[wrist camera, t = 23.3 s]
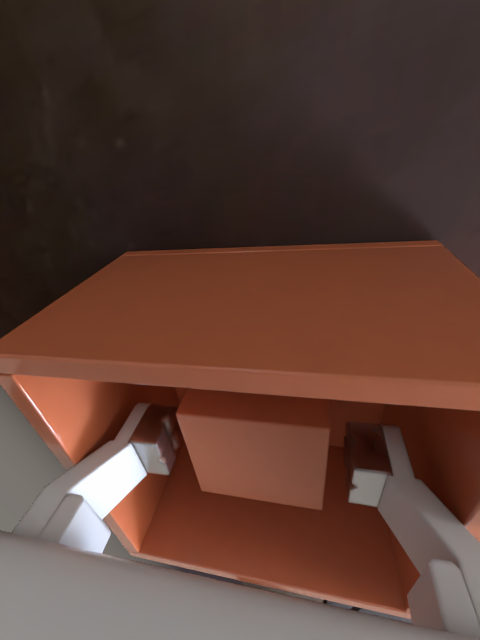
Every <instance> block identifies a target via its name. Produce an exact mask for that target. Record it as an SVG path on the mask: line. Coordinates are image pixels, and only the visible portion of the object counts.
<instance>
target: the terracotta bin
mask: <svg viewBox="0 0 480 640" xmlns="http://www.w3.org/2000/svg"><path fill="white" fill-rule="evenodd" d="M0 385H1V386H2V387H3V389H4V390H5V391H6V393H7V394H8V395H9V397H10V398H11V399H12V401H13V402H14V403H15V404H16V406H17V407H18V408H19V410H20V411H21V412H22V414H23V415H24V416H25V417H26V419H27V420H28V421H29V423H30V424H31V425H32V426H33V428H34V429H35V431H36V432H37V433H38V435H39V436H40V437H41V438H42V440H43V441H44V442H45V444H46V445H47V446H48V448H49V449H50V450H51V452H52V453H53V454H54V455H55V456H56V458H57V459H58V461H59V462H60V463H61V465H62V466H63V467H64V469H65V470H66V471H68V470H69V469H71V468H72V467H73V466H75V465H76V464H78V463H79V462H80V461H82V460H83V459H85V458H86V457H87V456H89V455H90V454H92V453H93V452H95V451H96V450H97V449H99V448H100V447H102V446H103V445H104V444H106V443H107V442H109V441H110V440H111V441H114V439H115V438H116V436H117V435H118V433H119V431H120V430H121V428H122V426H123V425H124V423H125V422H126V420H127V418H128V417H129V415H130V413H131V412H132V410H133V409H134V407H135V406H136V405H137V404H138V403H150V404H158V405H167V406H176V407H179V405H180V403H181V401H182V399H183V397H184V395H185V393H186V390H187V388H190V389H203V390H216V391H229V392H241V393H254V394H267V395H279V396H292V397H305V398H317V399H329V411H330V426H331V431H330V441H329V451H328V461H327V471H326V481H325V491H324V501H323V509H322V510H316V509H310V508H304V507H297V506H291V505H285V504H279V503H273V502H267V501H260V500H254V499H248V498H242V497H236V496H230V495H223V494H217V493H211V492H205V491H202V490H201V488H200V485H199V482H198V479H197V476H196V473H195V470H194V467H193V464H192V461H191V458H190V455H189V452H188V449H187V446H186V443H185V440H184V439H183V442H182V444H181V446H180V447H179V448H178V449H177V450H176V451H175V455H176V459H175V462H174V464H173V467H172V469H171V472H170V474H169V476H168V475H160V474H151V473H147V475H146V476H145V477H144V478H143V479H142V480H141V481H140V482H139V483H138V484H137V485H136V486H135V487H134V488H133V489H132V490H131V491H130V492H129V493H128V494H127V495H126V496H125V497H124V498H123V499H122V500H121V501H120V502H119V503H118V504H117V505H116V506H115V507H114V508H113V509H112V510H111V511H110V512H109V513H108V514H107V515H106V516H105V517H104V518H103V520H104V521H105V522H106V523H107V524H108V526H109V527H110V529H111V530H112V531H113V533H114V534H115V535H116V537H117V538H118V539H119V540H120V542H121V543H122V544H123V546H124V547H125V548H126V550H127V551H128V552H129V553H130V555H131V556H135V557H139V558H144V559H148V560H152V561H157V562H161V563H166V564H170V565H175V566H179V567H183V568H188V569H192V570H196V571H201V572H205V573H210V574H214V575H218V576H223V577H227V578H232V579H236V580H240V581H245V582H249V583H253V584H258V585H262V586H267V587H271V588H275V589H280V590H284V591H289V592H293V593H297V594H302V595H306V596H311V597H315V598H319V599H324V600H328V601H332V602H337V603H341V604H346V605H350V606H354V607H359V608H363V609H368V610H372V611H376V612H381V613H385V614H390V615H394V616H398V617H403V618H407V619H411V614H410V609H409V604H408V599H407V594H408V593H409V591H410V590H411V588H412V587H413V586H414V584H415V583H416V581H417V580H418V578H419V577H420V573H419V572H418V570H417V569H416V567H415V566H414V564H413V562H412V561H411V559H410V558H409V556H408V555H407V553H406V552H405V550H404V549H403V547H402V546H401V544H400V543H399V541H398V539H397V538H396V536H395V535H394V533H393V532H392V530H391V529H390V527H389V526H388V524H387V523H386V521H385V520H384V518H383V517H382V515H381V513H380V512H379V510H378V507H372V506H366V505H361V504H355V503H349V502H348V496H347V487H346V476H347V469H346V468H345V467H344V454H343V446H344V437H345V436H346V429H345V428H346V423H347V422H360V423H373V424H380V425H392V426H398V427H399V428H400V429H401V433H402V436H403V439H404V443H405V446H406V449H407V453H408V456H409V459H410V463H411V466H412V470H413V473H414V476H415V479H420V480H422V481H423V482H424V483H425V485H426V486H427V487H428V488H429V489H430V490H431V491H432V492H433V493H434V494H435V495H436V496H437V497H438V498H439V500H440V501H441V502H442V503H443V504H444V505H445V506H446V507H447V508H448V509H449V510H450V511H451V512H452V513H453V515H454V516H455V517H456V518H457V519H458V520H459V521H460V522H461V523H462V524H463V525H464V526H465V527H466V528H467V530H468V531H469V532H470V533H471V534H472V535H473V536H474V537H475V538H476V539H477V540H478V541H479V542H480V278H479V277H478V276H477V275H476V274H475V273H474V272H473V271H471V270H470V269H469V268H468V267H467V266H466V265H465V264H464V263H463V262H461V261H460V260H459V259H458V258H457V257H456V256H455V255H454V254H453V253H451V252H450V251H449V250H448V249H447V248H446V247H445V246H443V244H442V243H441V242H440V241H438V240H432V241H404V242H376V243H348V244H321V245H293V246H265V247H237V248H209V249H182V250H154V251H127V252H126V253H124V254H123V255H121V256H120V257H118V258H117V259H116V260H114V261H113V262H111V263H110V264H108V265H107V266H105V267H104V268H102V269H101V270H100V271H98V272H97V273H95V274H94V275H92V276H91V277H89V278H88V279H86V280H85V281H84V282H82V283H81V284H79V285H78V286H76V287H75V288H73V289H72V290H70V291H69V292H68V293H66V294H65V295H63V296H62V297H60V298H59V299H57V300H56V301H54V302H53V303H52V304H50V305H49V306H47V307H46V308H44V309H43V310H41V311H40V312H38V313H37V314H36V315H34V316H33V317H31V318H30V319H28V320H27V321H25V322H24V323H22V324H21V325H20V326H18V327H17V328H15V329H14V330H12V331H11V332H9V333H8V334H6V335H5V336H4V337H2V338H1V339H0Z"/></svg>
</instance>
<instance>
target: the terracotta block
mask: <svg viewBox="0 0 480 640" xmlns="http://www.w3.org/2000/svg"><path fill="white" fill-rule="evenodd" d="M176 417H177V420H178V423H179V426H180V429H181V432H182V435H183V437H184V440H185V443H186V446H187V449H188V452H189V455H190V458H191V461H192V464H193V467H194V470H195V473H196V476H197V479H198V482H199V485H200V488H201V490H202V491H205V492H211V493H217V494H223V495H230V496H236V497H242V498H248V499H254V500H260V501H267V502H273V503H279V504H285V505H291V506H297V507H304V508H310V509H316V510H322V509H323V501H324V491H325V481H326V471H327V461H328V451H329V441H330V431H331V426H330V411H329V399H317V398H305V397H292V396H279V395H267V394H254V393H241V392H229V391H216V390H203V389H190V388H187V390H186V393H185V395H184V397H183V399H182V401H181V403H180V405H179V407H178V410H177V412H176Z"/></svg>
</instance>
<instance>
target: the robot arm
mask: <svg viewBox="0 0 480 640" xmlns="http://www.w3.org/2000/svg"><path fill="white" fill-rule="evenodd" d="M177 410H178V407H176V406H167V405H158V404H150V403H138V404H137V405H136V406H135V407H134V409H133V410H132V412H131V413H130V415H129V417H128V418H127V420H126V422H125V423H124V425H123V426H122V428H121V430H120V431H119V433H118V435H117V436H116V438H115V439H114V441H111V440H110V441H109V442H107V443H106V444H104V445H103V446H102V447H100V448H99V449H97V450H96V451H95V452H93V453H92V454H90V455H89V456H87V457H86V458H85V459H83V460H82V461H80V462H79V463H78V464H76V465H75V466H73V467H72V468H71V469H69V470H68V471H66V472H65V473H64V474H62V475H61V476H59V477H58V478H57V479H55V480H54V481H52V482H51V483H49V484H48V485H47V486H45V487H44V488H43V490H42V491H41V492H40V494H39V495H38V497H37V498H36V499H35V501H34V502H33V503H32V505H31V506H30V507H29V509H28V510H27V512H26V513H25V515H24V516H23V517H22V519H21V520H20V521H19V523H18V524H17V526H16V527H15V528H14V530H13V531H12V532H11V533H10V532H5V531H1V530H0V640H480V542H479V541H478V540H477V539H476V538H475V537H474V536H473V535H472V534H471V533H470V532H469V531H468V530H467V528H466V527H465V526H464V525H463V524H462V523H461V522H460V521H459V520H458V519H457V518H456V517H455V516H454V515H453V513H452V512H451V511H450V510H449V509H448V508H447V507H446V506H445V505H444V504H443V503H442V502H441V501H440V500H439V498H438V497H437V496H436V495H435V494H434V493H433V492H432V491H431V490H430V489H429V488H428V487H427V486H426V485H425V483H424V482H423V481H422V480H420V479H415V476H414V473H413V470H412V466H411V463H410V459H409V456H408V453H407V449H406V446H405V443H404V439H403V436H402V433H401V429H400V428H399V427H398V426H392V425H380V424H373V423H360V422H347V423H346V428H345V429H346V436H345V437H344V446H343V454H344V467H345V468H346V469H347V476H346V487H347V496H348V502H349V503H355V504H361V505H366V506H372V507H378V510H379V512H380V513H381V515H382V517H383V518H384V520H385V521H386V523H387V524H388V526H389V527H390V529H391V530H392V532H393V533H394V535H395V536H396V538H397V539H398V541H399V543H400V544H401V546H402V547H403V549H404V550H405V552H406V553H407V555H408V556H409V558H410V559H411V561H412V562H413V564H414V566H415V567H416V569H417V570H418V572H419V573H420V577H419V578H418V580H417V581H416V583H415V584H414V586H413V587H412V588H411V590H410V591H409V593H408V594H407V599H408V604H409V609H410V614H411V619H412V624H411V623H407V622H402V621H398V620H393V619H389V618H384V617H380V616H376V615H371V614H367V613H362V612H358V611H354V610H349V609H345V608H340V607H336V606H332V605H327V604H323V603H318V602H314V601H309V600H305V599H301V598H296V597H292V596H287V595H283V594H279V593H274V592H270V591H265V590H261V589H257V588H252V587H248V586H243V585H239V584H234V583H230V582H226V581H221V580H217V579H212V578H208V577H203V576H199V575H195V574H190V573H186V572H182V571H177V570H172V569H168V568H164V567H159V566H155V565H151V564H146V563H142V562H137V561H133V560H128V559H124V558H120V557H115V556H111V555H106V554H102V552H103V550H104V548H105V546H106V543H107V541H108V539H109V537H110V535H111V532H110V529H109V528H108V527H107V525H106V524H105V523H104V522H103V520H102V519H103V518H104V517H105V516H106V515H107V514H108V513H109V512H110V511H111V510H112V509H113V508H114V507H115V506H116V505H117V504H118V503H119V502H120V501H121V500H122V499H123V498H124V497H125V496H126V495H127V494H128V493H129V492H130V491H131V490H132V489H133V488H134V487H135V486H136V485H137V484H138V483H139V482H140V481H141V480H142V479H143V478H144V477H145V476H146V475H147V473H151V474H160V475H168V476H169V474H170V472H171V469H172V467H173V464H174V462H175V459H176V455H175V451H176V450H177V449H178V448H179V447H180V446H181V444H182V442H183V439H184V437H183V435H182V432H181V429H180V426H179V423H178V420H177V417H176V412H177Z"/></svg>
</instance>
